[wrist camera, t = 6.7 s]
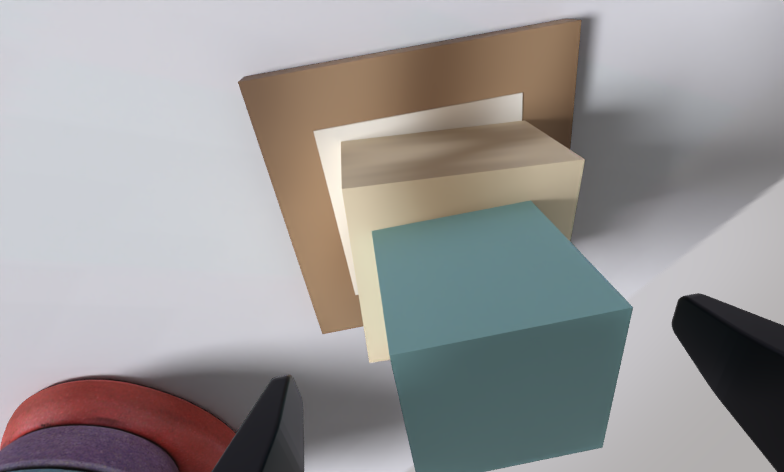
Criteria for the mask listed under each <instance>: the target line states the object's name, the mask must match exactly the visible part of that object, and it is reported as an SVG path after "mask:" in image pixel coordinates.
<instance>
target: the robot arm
mask: <svg viewBox="0 0 784 472" xmlns="http://www.w3.org/2000/svg"><path fill="white" fill-rule="evenodd" d="M672 328H673V331H674V333H675V335H676V336H677V338H678V339H679V341H680V342H681V344H682V345H683V347H684V348H685V350H686V351H687V353H688V354H689V356H690V357H691V359H692V360H693V362H694V363H695V365H696V366H697V368H698V369H699V371H700V373H701V374H702V376H703V377H704V379H705V380H706V382H707V383H708V385H709V386H710V387H711V389H712V390H713V392H714V393H715V394H716V396H717V397H718V398H719V400H720V401H721V402H722V404H723V405H724V406H725V407H726V409H727V410H728V411H729V412H730V413H731V415H732V416H733V417H734V418H735V420H736V421H737V422H738V423H739V425H740V426H741V427H742V428H743V430H744V431H745V432H746V433H747V435H748V436H749V437H750V438H751V440H752V441H753V442H754V443H755V445H756V446H757V447H758V448H759V450H760V451H761V452H762V453H763V455H764V456H765V457H766V458H767V459H768V461H769V462H770V463H771V465H772V466H773V467H774V468H775V470H776V471H777V472H784V326H783V325H781V324H778V323H775V322H773V321H771V320H768V319H765V318H763V317H760V316H758V315H755V314H752V313H750V312H747V311H745V310H742V309H739V308H737V307H735V306H732V305H729V304H727V303H724V302H722V301H719V300H716V299H714V298H711V297H709V296H706V295H703V294H692V295H687V296H683V297H681V298H680V299H679V300H678V302H677V306H676V309H675V312H674V316H673V319H672ZM211 472H304V428H303V402H302V397H301V395H300V392H299V390H298V388H297V385H296V383H295V381H294V378H293V377H292V376H291V375H284V376H279V377H275V378H273V379H272V380H271V381H270V383H269V384H268V386H267V387H266V389H265V390H264V392H263V393H262V395H261V396H260V398H259V399H258V401H257V402H256V404H255V406H254V407H253V409H252V410H251V412H250V413H249V415H248V416H247V418H246V419H245V421H244V422H243V424H242V425H241V427H240V428H239V430H238V432H237V433H236V435H235V436H234V438H233V439H232V441H231V442H230V444H229V445H228V447H227V448H226V450H225V451H224V453H223V455H222V456H221V458H220V459H219V461H218V462H217V464H216V465H215V467H214V468H213V470H212V471H211Z"/></svg>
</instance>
